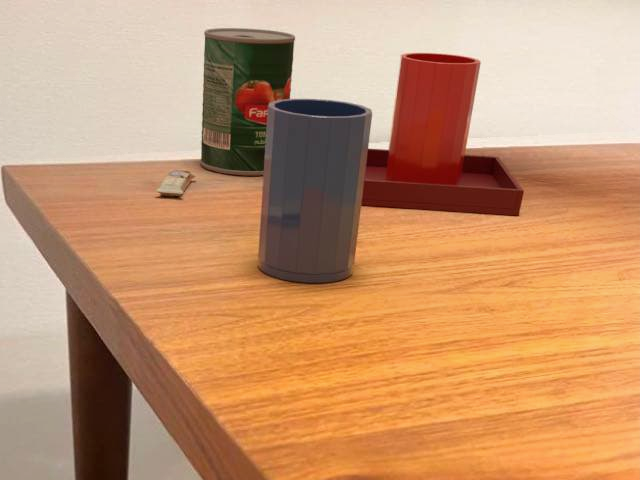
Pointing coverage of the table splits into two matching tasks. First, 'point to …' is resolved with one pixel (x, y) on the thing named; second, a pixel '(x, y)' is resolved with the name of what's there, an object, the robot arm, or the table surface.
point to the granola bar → (175, 183)
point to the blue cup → (312, 188)
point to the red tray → (446, 188)
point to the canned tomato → (242, 95)
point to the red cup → (431, 118)
